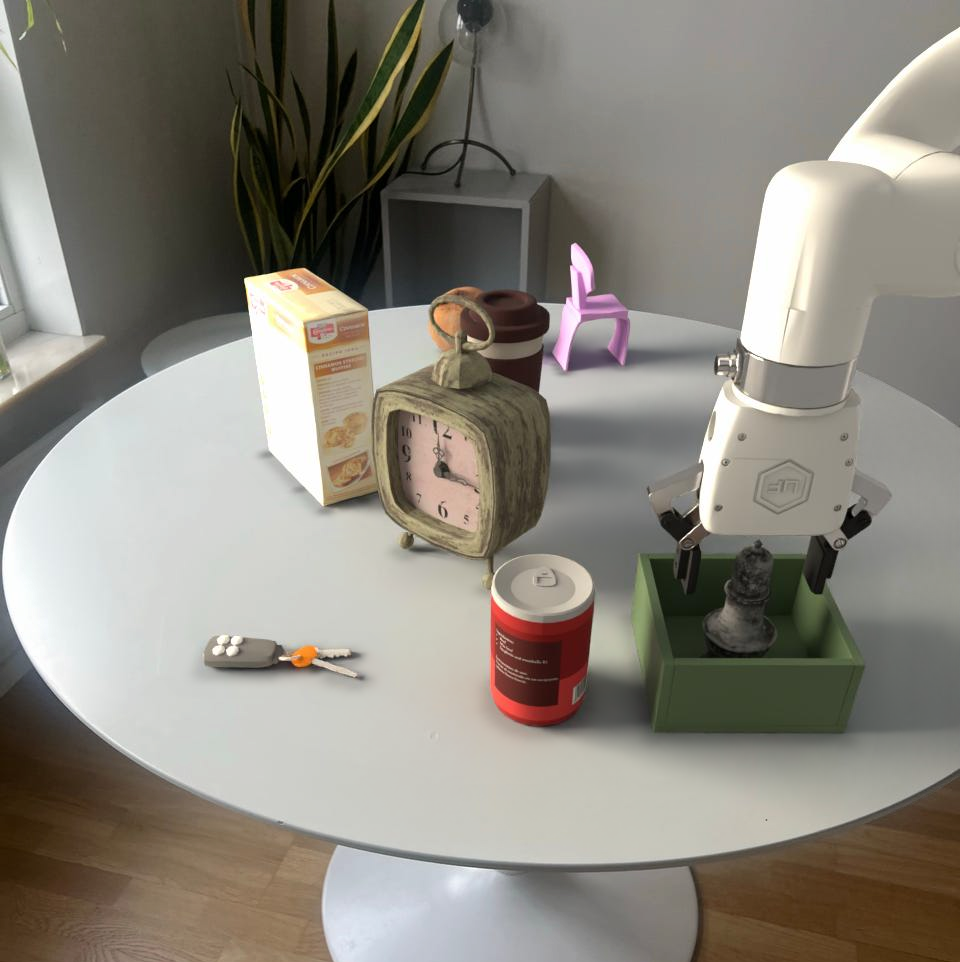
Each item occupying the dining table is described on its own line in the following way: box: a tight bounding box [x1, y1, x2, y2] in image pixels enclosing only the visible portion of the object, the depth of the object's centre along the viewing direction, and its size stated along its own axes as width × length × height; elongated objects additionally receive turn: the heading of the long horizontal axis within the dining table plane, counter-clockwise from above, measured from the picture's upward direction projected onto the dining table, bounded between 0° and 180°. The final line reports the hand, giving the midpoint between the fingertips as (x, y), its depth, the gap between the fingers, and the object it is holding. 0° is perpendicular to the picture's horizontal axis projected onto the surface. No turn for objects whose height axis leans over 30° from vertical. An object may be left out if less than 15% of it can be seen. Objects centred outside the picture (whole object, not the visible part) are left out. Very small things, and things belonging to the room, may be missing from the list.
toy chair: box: [552, 242, 631, 372], centre depth 126 cm, size 8×9×15 cm
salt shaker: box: [700, 538, 777, 658], centre depth 75 cm, size 6×6×12 cm
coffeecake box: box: [244, 267, 378, 507], centre depth 100 cm, size 15×7×20 cm, turn 32°
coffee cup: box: [460, 289, 551, 394], centre depth 110 cm, size 10×10×15 cm
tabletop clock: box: [371, 293, 552, 591], centre depth 85 cm, size 14×9×25 cm, turn 50°
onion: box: [428, 286, 485, 353], centre depth 129 cm, size 10×9×10 cm
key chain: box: [202, 634, 359, 678], centre depth 80 cm, size 13×4×2 cm, turn 86°
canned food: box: [489, 553, 596, 727], centre depth 74 cm, size 8×8×11 cm
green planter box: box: [630, 552, 866, 734], centre depth 77 cm, size 15×15×7 cm
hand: (749, 584), depth 74 cm, fingers open, 9 cm apart
